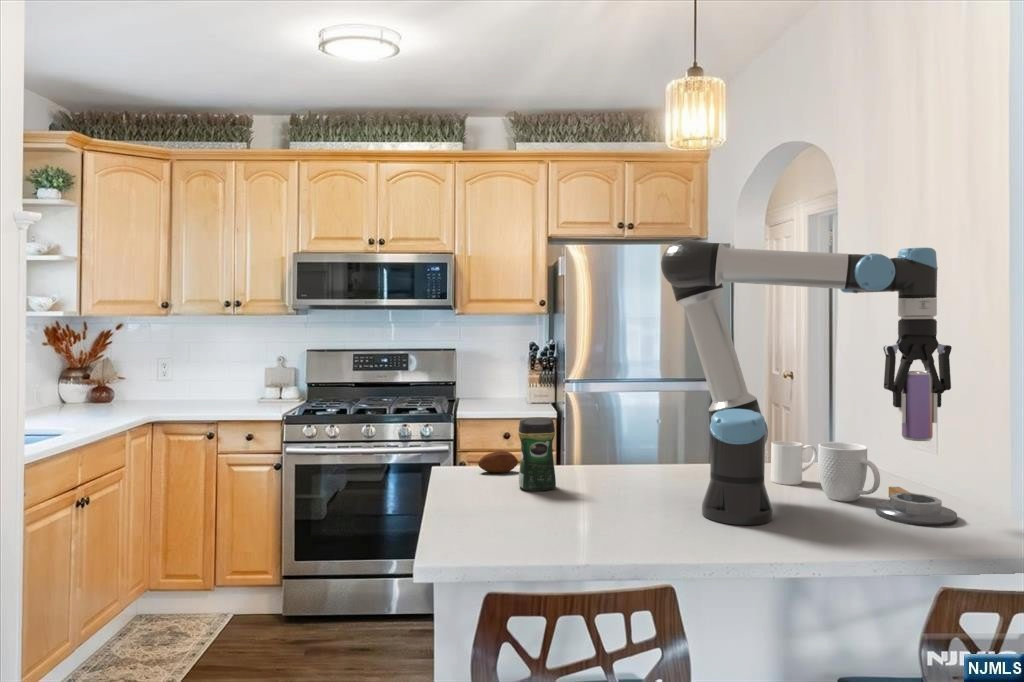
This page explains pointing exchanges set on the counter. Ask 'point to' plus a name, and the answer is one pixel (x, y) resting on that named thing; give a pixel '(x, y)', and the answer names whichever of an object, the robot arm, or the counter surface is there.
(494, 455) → the potato
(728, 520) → the robot arm
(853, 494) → the mug
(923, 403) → the beverage can
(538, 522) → the counter surface
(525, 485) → the coffee jar
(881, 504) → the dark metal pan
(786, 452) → the mug
